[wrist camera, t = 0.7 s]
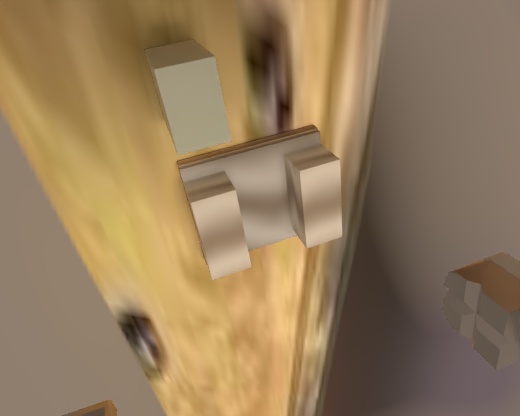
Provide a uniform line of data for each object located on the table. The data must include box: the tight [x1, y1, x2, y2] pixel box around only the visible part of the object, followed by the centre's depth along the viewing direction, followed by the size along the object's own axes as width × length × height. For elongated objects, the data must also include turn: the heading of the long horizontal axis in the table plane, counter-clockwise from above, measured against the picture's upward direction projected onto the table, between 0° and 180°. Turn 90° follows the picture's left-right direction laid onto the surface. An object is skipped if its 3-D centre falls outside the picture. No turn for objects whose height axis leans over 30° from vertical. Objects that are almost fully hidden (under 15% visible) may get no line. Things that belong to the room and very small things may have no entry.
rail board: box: [177, 125, 342, 280], centre depth 39 cm, size 12×14×6 cm
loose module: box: [144, 39, 231, 155], centre depth 30 cm, size 6×4×8 cm, turn 9°
